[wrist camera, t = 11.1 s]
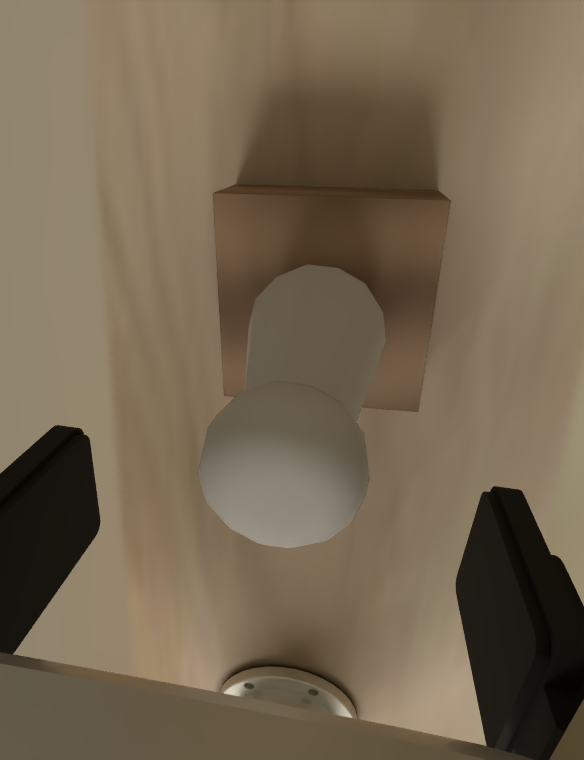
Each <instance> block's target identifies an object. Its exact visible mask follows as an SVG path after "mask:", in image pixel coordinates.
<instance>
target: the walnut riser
mask: <svg viewBox="0 0 584 760" xmlns="http://www.w3.org/2000/svg"><path fill="white" fill-rule="evenodd" d="M450 202H451V201H450V200H449V199H448V198H447V197H445V196H444V195H443V194H442V193H441V192H439V191H431V190H397V189H364V188H331V187H297V186H264V185H233V186H230V187H228V188H225V189H223V190H220V191H217V192H215V193H213V204H214V222H215V240H216V259H217V277H218V295H219V313H220V332H221V350H222V368H223V387H224V396H231V397H236V396H237V395H238V394H239V393H241V392H244V391H245V377H246V362H247V346H248V330H249V324H250V320H251V315H252V311H253V307H254V303H255V299H256V298H257V297H258V296H259V295H260V294H261V293H262V292H263V291H264V289H265V288H266V287H267V286H268V285H269V284H270V283H271V282H272V281H273V280H274V279H275V278H276V277H278V276H280V275H283V274H285V273H288V272H290V271H293V270H295V269H297V268H300V267H302V266H305V265H307V264H308V265H317V266H326V267H334V268H340V269H341V270H343V271H345V272H346V273H348V274H350V275H352V276H353V277H355V278H357V279H359V280H360V281H362V282H364V283H365V284H366V285H367V287H368V289H369V290H370V292H371V293H372V295H373V297H374V298H375V300H376V302H377V303H378V305H379V306H380V308H381V310H382V311H383V317H384V327H385V338H386V342H385V345H384V348H383V351H382V353H381V356H380V359H379V361H378V364H377V367H376V369H375V372H374V375H373V378H372V380H371V383H370V386H369V388H368V391H367V394H366V397H365V399H364V402H363V405H362V407H364V408H376V409H388V410H400V411H412V412H418V411H419V405H420V398H421V392H422V385H423V379H424V372H425V366H426V359H427V352H428V346H429V339H430V333H431V326H432V320H433V313H434V307H435V300H436V294H437V287H438V281H439V274H440V268H441V261H442V255H443V248H444V242H445V235H446V228H447V222H448V215H449V209H450Z"/></svg>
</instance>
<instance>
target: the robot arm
mask: <svg viewBox="0 0 584 760" xmlns="http://www.w3.org/2000/svg"><path fill="white" fill-rule="evenodd" d="M99 527H100V514H99V507H98V499H97V491H96V484H95V477H94V468H93V461H92V453H91V446H90V440H89V437H88V436H87V435H84V433H83V431H82V429H80V428H74V427H66V426H60V425H57V426H54V427H53V428H51V429H50V430H49V431H48V432H47V433H46V434H45V435H43V436H42V437H41V438H40V439H39V440H38V441H37V442H35V443H34V444H33V445H32V446H31V447H30V448H29V449H28V450H26V451H25V452H24V453H23V454H22V455H21V456H20V457H19V458H17V459H16V460H15V461H14V462H13V463H12V464H11V465H10V466H8V467H7V468H6V469H5V470H4V471H3V472H2V473H1V474H0V760H584V606H583V604H582V602H581V599H580V597H579V595H578V593H577V591H576V589H575V587H574V585H573V582H572V580H571V578H570V576H569V574H568V572H567V570H566V568H565V566H564V564H563V562H562V561H561V559H560V558H559V557H557V556H555V555H551V554H550V552H549V549H548V547H547V545H546V543H545V541H544V538H543V536H542V534H541V532H540V529H539V527H538V525H537V523H536V521H535V518H534V516H533V514H532V512H531V510H530V507H529V505H528V503H527V501H526V498H525V496H524V494H523V492H522V491H521V490H518V489H511V488H504V487H496V486H494V487H493V488H492V489H491V491H490V492H486V491H485V492H483V493H482V495H481V498H480V501H479V505H478V508H477V511H476V514H475V518H474V521H473V524H472V528H471V531H470V534H469V538H468V541H467V544H466V548H465V551H464V554H463V558H462V561H461V564H460V568H459V571H458V574H457V578H456V595H457V600H458V605H459V610H460V615H461V620H462V625H463V630H464V635H465V640H466V645H467V650H468V655H469V660H470V665H471V670H472V675H473V680H474V685H475V690H476V695H477V700H478V705H479V710H480V715H481V720H482V725H483V730H484V735H485V740H486V744H487V746H483V745H480V744H475V743H471V742H466V741H461V740H457V739H452V738H447V737H442V736H438V735H433V734H428V733H424V732H419V731H414V730H409V729H405V728H400V727H395V726H390V725H385V724H380V723H375V722H370V721H365V720H359V719H357V715H356V711H355V708H354V706H353V705H352V703H351V701H350V700H349V699H348V698H347V697H346V695H345V694H344V693H343V692H342V691H341V690H339V689H338V688H337V687H335V686H334V685H333V684H331V683H329V682H328V681H326V680H324V679H322V678H320V677H318V676H316V675H313V674H311V673H308V672H304V671H301V670H297V669H292V668H285V667H269V666H267V667H258V668H252V669H248V670H245V671H242V672H240V673H238V674H236V675H234V676H232V677H231V678H230V679H228V680H227V681H226V682H225V684H224V685H223V686H222V687H221V690H220V693H219V692H214V691H209V690H203V689H198V688H193V687H187V686H182V685H177V684H171V683H166V682H161V681H155V680H150V679H145V678H139V677H134V676H129V675H123V674H117V673H112V672H107V671H101V670H95V669H90V668H85V667H79V666H74V665H68V664H63V663H57V662H51V661H46V660H41V659H35V658H30V657H24V656H19V655H13V653H14V652H15V651H16V649H17V648H18V646H19V645H20V644H21V642H22V641H23V639H24V638H25V636H26V635H27V634H28V632H29V631H30V629H31V628H32V626H33V625H34V624H35V622H36V621H37V619H38V618H39V616H40V615H41V613H42V612H43V611H44V609H45V608H46V606H47V605H48V603H49V602H50V601H51V599H52V598H53V596H54V595H55V594H56V592H57V591H58V589H59V588H60V586H61V585H62V584H63V582H64V581H65V579H66V578H67V576H68V575H69V574H70V572H71V571H72V569H73V568H74V566H75V565H76V564H77V562H78V561H79V559H80V558H81V556H82V555H83V554H84V552H85V551H86V549H87V548H88V546H89V545H90V544H91V542H92V540H93V539H94V538H95V536H96V535H97V533H98V530H99Z"/></svg>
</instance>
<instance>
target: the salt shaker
mask: <svg viewBox="0 0 584 760" xmlns="http://www.w3.org/2000/svg"><path fill="white" fill-rule="evenodd" d="M385 342H386V338H385V327H384V317H383V311H382V310H381V308H380V306H379V305H378V303H377V302H376V300H375V298H374V297H373V295H372V293H371V292H370V290H369V289H368V287H367V285H366V284H365V283H364V282H362V281H360V280H359V279H357V278H355V277H353V276H352V275H350V274H348V273H346V272H345V271H343V270H341V269H340V268H334V267H326V266H317V265H308V264H307V265H305V266H302V267H300V268H297V269H295V270H293V271H290V272H288V273H285V274H283V275H280V276H278V277H276V278H275V279H274V280H273V281H272V282H271V283H270V284H269V285H268V286H267V287H266V288H265V289H264V291H263V292H262V293H261V294H260V295H259V296H258V297H257V298H256V299H255V303H254V307H253V311H252V315H251V320H250V324H249V330H248V346H247V362H246V377H245V391H244V392H241V393H239V394H238V395H237V396H236V397H235V398H234V399H233V400H232V401H231V402H230V403H229V404H228V405H227V406H226V407H225V408H224V409H223V410H222V411H221V412H220V413H219V414H218V415H217V416H216V417H215V418H214V420H213V421H212V423H211V424H210V426H209V427H208V430H207V434H206V439H205V443H204V447H203V452H202V456H201V460H200V465H199V470H198V476H199V480H200V483H201V487H202V490H203V494H204V497H205V501H206V503H207V504H208V505H209V506H210V507H211V508H212V509H213V511H214V512H215V513H216V514H217V515H218V516H219V517H220V518H221V519H222V520H223V521H224V522H225V524H226V525H227V526H228V527H229V528H231V529H232V530H233V531H235V532H237V533H239V534H241V535H243V536H245V537H247V538H249V539H251V540H252V541H254V542H256V543H258V544H261V545H268V546H275V547H283V548H295V547H300V546H305V545H310V544H316V543H320V542H325V541H327V540H329V539H330V538H331V537H333V536H334V535H336V534H337V533H338V532H340V531H341V530H342V529H344V528H345V527H347V526H348V525H349V524H351V523H352V521H353V519H354V517H355V515H356V513H357V511H358V509H359V507H360V505H361V503H362V501H363V499H364V497H365V494H366V490H367V487H368V483H369V469H368V460H367V453H366V445H365V438H364V433H363V432H362V430H361V429H360V427H359V426H358V424H357V423H356V421H357V418H358V415H359V413H360V410H361V407H362V405H363V402H364V399H365V397H366V394H367V391H368V388H369V386H370V383H371V380H372V378H373V375H374V372H375V369H376V367H377V364H378V361H379V359H380V356H381V353H382V351H383V348H384V345H385Z"/></svg>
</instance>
